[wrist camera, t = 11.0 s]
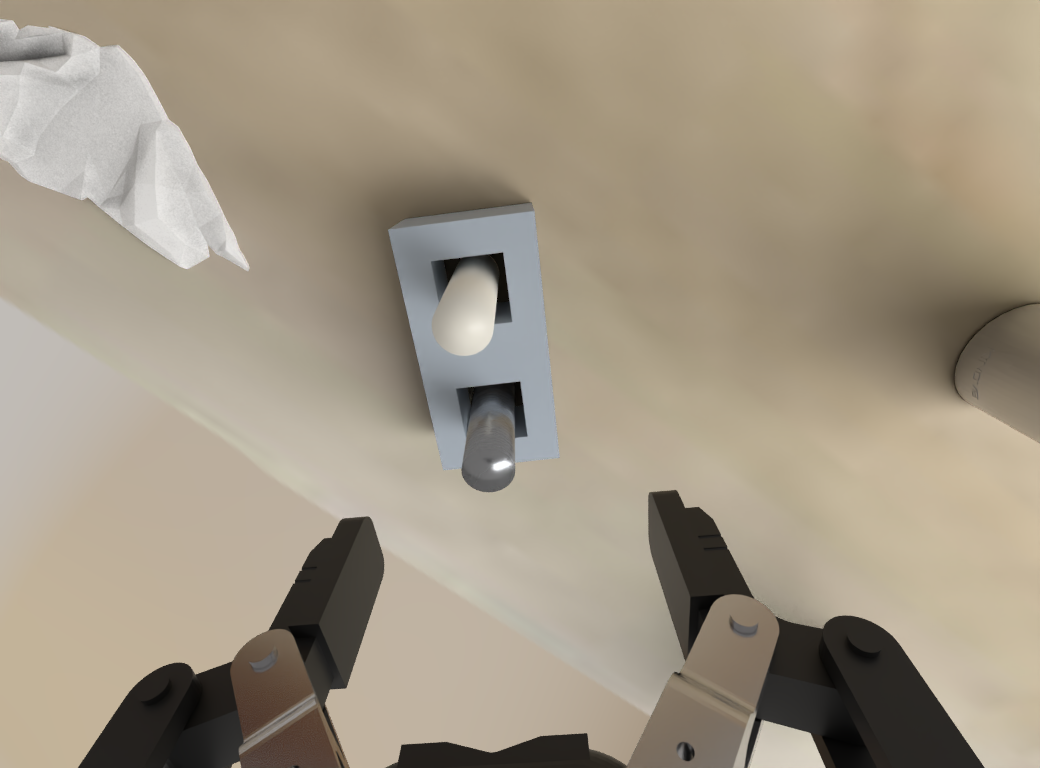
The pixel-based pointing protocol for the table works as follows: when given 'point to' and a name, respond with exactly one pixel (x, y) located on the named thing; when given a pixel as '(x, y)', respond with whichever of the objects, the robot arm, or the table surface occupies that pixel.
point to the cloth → (106, 141)
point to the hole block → (516, 325)
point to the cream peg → (468, 307)
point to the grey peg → (490, 438)
